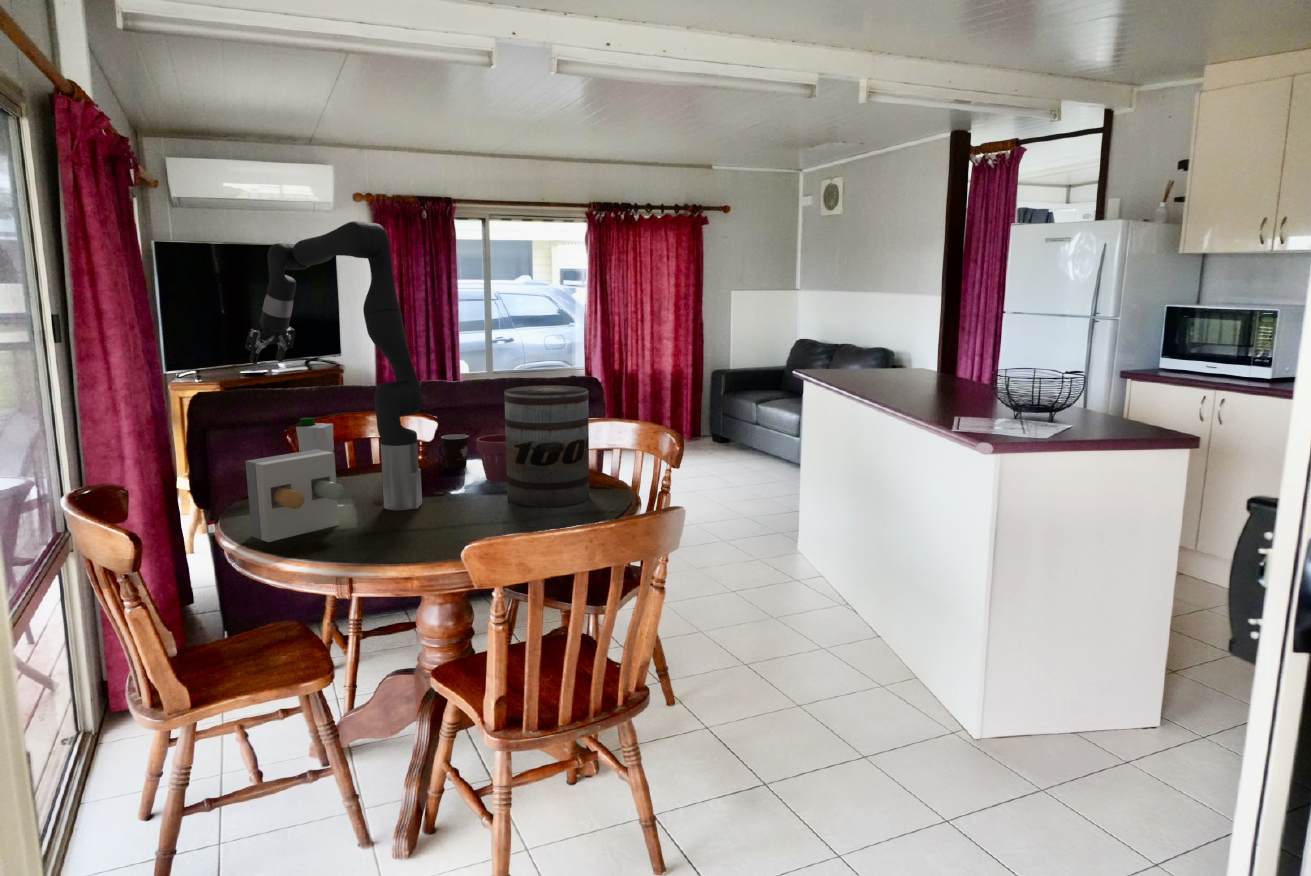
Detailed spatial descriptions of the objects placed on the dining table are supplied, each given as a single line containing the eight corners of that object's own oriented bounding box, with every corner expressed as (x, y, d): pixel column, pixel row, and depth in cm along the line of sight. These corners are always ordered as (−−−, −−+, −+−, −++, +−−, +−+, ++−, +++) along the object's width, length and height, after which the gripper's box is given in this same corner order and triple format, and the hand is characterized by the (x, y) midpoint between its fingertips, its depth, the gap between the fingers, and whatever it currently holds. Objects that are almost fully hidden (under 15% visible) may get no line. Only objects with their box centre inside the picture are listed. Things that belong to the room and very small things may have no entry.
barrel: (546, 513, 219) (543, 397, 214) (490, 499, 234) (486, 390, 228) (606, 497, 236) (605, 389, 231) (550, 484, 251) (548, 383, 245)
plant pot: (470, 477, 260) (469, 436, 258) (513, 472, 267) (512, 432, 265) (488, 486, 248) (487, 443, 246) (532, 480, 256) (531, 439, 253)
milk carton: (310, 482, 253) (305, 415, 249) (340, 482, 252) (336, 416, 249) (297, 489, 244) (292, 420, 241) (328, 489, 244) (323, 420, 240)
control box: (338, 524, 208) (334, 452, 205) (268, 542, 194) (262, 464, 191) (322, 519, 212) (317, 449, 209) (251, 536, 198) (245, 460, 195)
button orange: (305, 507, 193) (303, 489, 193) (288, 510, 190) (287, 493, 189) (290, 503, 197) (289, 486, 196) (274, 506, 194) (273, 489, 193)
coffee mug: (462, 463, 280) (461, 433, 279) (474, 467, 274) (473, 437, 272) (429, 467, 273) (427, 437, 271) (441, 472, 267) (439, 441, 265)
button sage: (344, 498, 201) (343, 482, 200) (329, 501, 198) (327, 485, 197) (329, 494, 205) (328, 478, 204) (314, 497, 202) (313, 481, 201)
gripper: (263, 317, 235) (253, 370, 241) (306, 315, 247) (295, 365, 253) (246, 306, 237) (236, 358, 243) (289, 304, 250) (279, 354, 256)
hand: (266, 361), depth 248 cm, fingers open, 8 cm apart
